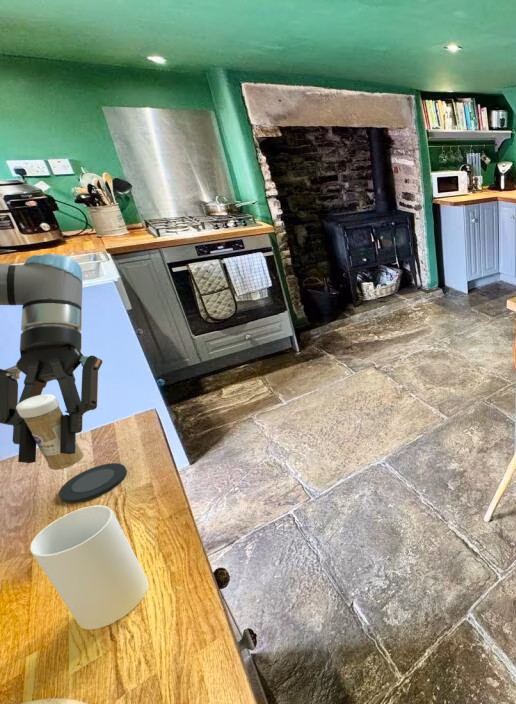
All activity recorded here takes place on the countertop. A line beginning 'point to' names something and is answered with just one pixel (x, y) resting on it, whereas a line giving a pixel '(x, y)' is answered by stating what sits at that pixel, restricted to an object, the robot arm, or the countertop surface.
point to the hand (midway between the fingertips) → (47, 457)
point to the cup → (91, 566)
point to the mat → (92, 483)
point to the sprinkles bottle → (47, 429)
